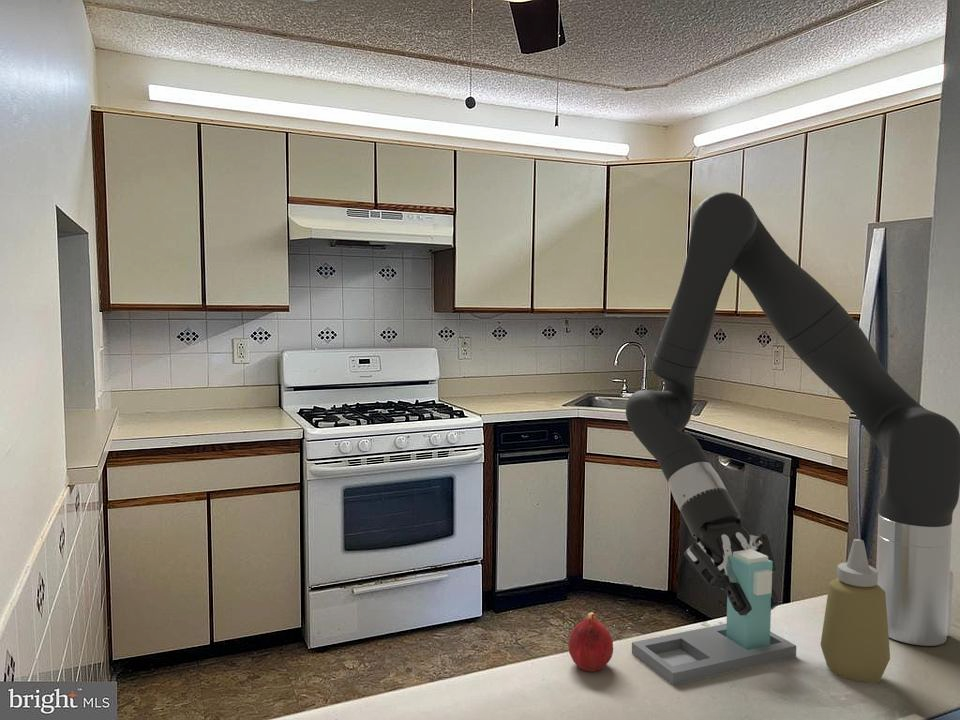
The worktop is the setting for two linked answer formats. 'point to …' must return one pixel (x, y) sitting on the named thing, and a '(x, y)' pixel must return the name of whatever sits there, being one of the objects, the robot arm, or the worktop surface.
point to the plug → (751, 600)
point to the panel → (706, 654)
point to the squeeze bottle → (856, 621)
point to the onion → (590, 644)
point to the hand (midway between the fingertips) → (759, 609)
